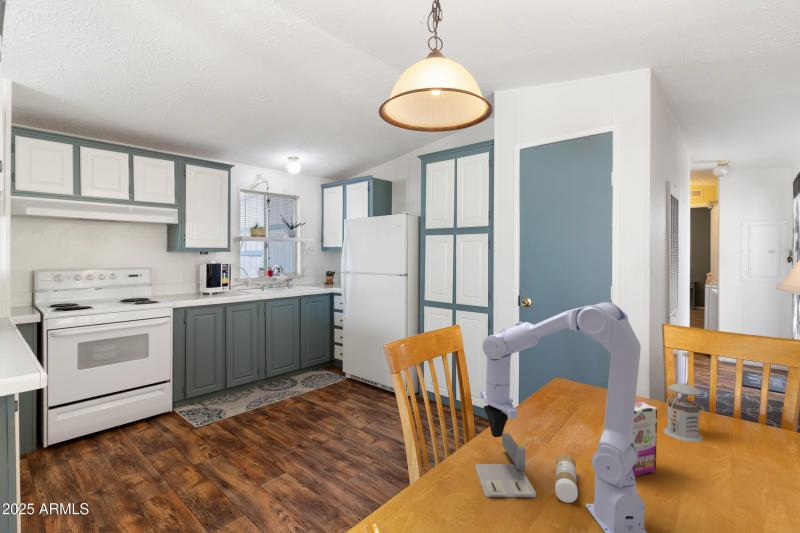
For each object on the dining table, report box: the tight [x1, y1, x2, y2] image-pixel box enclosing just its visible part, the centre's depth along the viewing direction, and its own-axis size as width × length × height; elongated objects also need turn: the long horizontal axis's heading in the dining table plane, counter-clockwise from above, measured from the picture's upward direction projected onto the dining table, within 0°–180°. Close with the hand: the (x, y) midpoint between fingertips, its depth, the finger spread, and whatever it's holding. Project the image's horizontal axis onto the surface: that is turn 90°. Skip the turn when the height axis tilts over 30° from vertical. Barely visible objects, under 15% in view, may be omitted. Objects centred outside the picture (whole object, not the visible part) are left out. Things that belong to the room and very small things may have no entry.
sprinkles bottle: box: [554, 454, 579, 504], centre depth 94 cm, size 5×5×13 cm
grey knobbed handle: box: [501, 432, 527, 471], centre depth 104 cm, size 2×12×5 cm, turn 4°
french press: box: [662, 351, 704, 443], centre depth 120 cm, size 10×12×25 cm
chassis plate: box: [475, 463, 537, 498], centre depth 95 cm, size 12×11×1 cm
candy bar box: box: [632, 401, 658, 477], centre depth 100 cm, size 11×5×16 cm, turn 105°
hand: (496, 435), depth 101 cm, fingers closed
